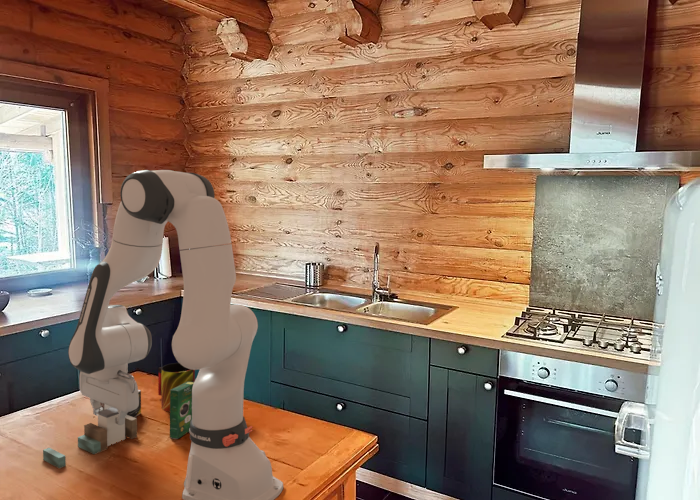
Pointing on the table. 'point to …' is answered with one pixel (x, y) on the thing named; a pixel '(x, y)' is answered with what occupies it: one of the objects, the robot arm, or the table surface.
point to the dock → (91, 441)
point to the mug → (172, 380)
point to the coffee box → (180, 409)
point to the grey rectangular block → (111, 425)
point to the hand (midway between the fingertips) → (108, 419)
